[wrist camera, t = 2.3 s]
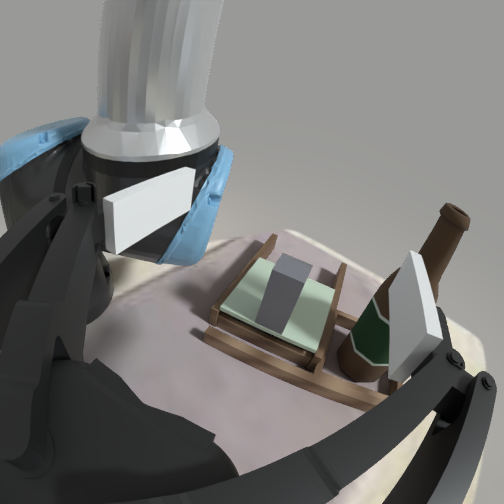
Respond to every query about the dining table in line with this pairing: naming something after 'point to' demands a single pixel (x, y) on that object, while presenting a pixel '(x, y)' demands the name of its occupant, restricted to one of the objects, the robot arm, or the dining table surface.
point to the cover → (282, 301)
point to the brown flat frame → (291, 347)
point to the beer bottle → (377, 311)
